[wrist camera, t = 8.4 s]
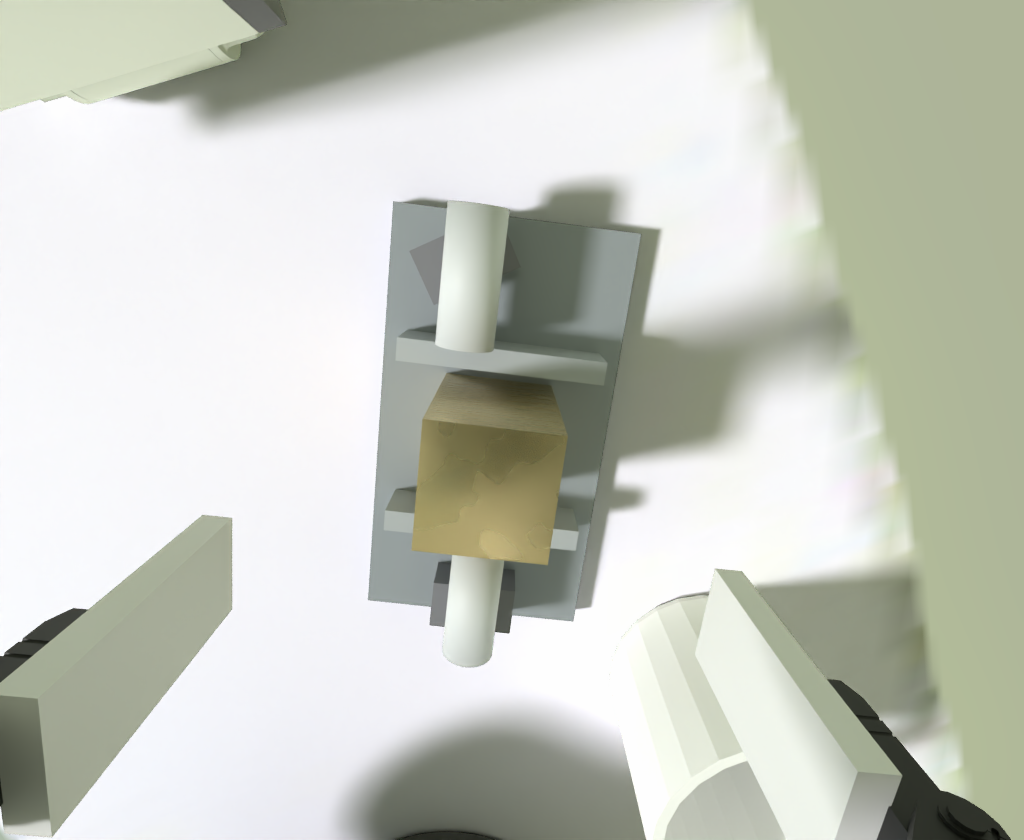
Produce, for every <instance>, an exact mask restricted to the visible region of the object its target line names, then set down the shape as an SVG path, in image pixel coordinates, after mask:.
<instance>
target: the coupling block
mask: <svg viewBox="0 0 1024 840" xmlns="http://www.w3.org/2000/svg"><path fill="white" fill-rule="evenodd" d="M567 439H568V435H567V432H566V429H565V425H564V422H563V419H562V416H561V413H560V410H559V407H558V404H557V401H556V398H555V395H554V392H553V389H552V386H551V385H544V384H535V383H527V382H519V381H510V380H502V379H493V378H485V377H477V376H468V375H460V374H452V373H446V375H445V377H444V379H443V381H442V383H441V385H440V386H439V388H438V390H437V392H436V394H435V396H434V398H433V400H432V402H431V404H430V406H429V407H428V409H427V411H426V413H425V415H424V417H423V419H422V430H421V442H420V454H419V466H418V477H417V489H416V501H415V513H414V525H413V537H412V549H411V551H420V552H430V553H439V554H448V555H457V556H467V557H476V558H485V559H495V560H504V561H513V562H523V563H532V564H541V565H548V560H549V554H550V547H551V541H552V534H553V528H554V522H555V515H556V509H557V503H558V496H559V490H560V483H561V477H562V471H563V464H564V458H565V452H566V445H567Z"/></svg>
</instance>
